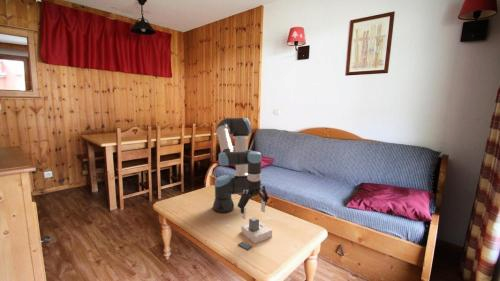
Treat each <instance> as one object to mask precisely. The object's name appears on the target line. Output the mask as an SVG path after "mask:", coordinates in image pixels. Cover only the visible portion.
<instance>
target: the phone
mask: <svg viewBox="0 0 500 281" xmlns="http://www.w3.org/2000/svg"><path fill="white" fill-rule="evenodd" d="M237 246H239V247H240V248H242V249H243V250H246V251H249V250H251V249H252V248H253V246H252V245H250V244H248V243H246V242H244V241H241V242H240V243H238V244H237Z"/></svg>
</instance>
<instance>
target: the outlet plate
mask: <svg viewBox="0 0 500 281" xmlns="http://www.w3.org/2000/svg"><path fill="white" fill-rule="evenodd" d="M240 231H241V233H242V234H243V235H245V236H246V237H247V239H249V240H250V241H252V243H254V244H257V243H260V242H262V241H264V240H267V239H269V238H271V237H273V229H271V228H270V227H268V226H267V225H266V224H265V223H263V222H261V221H260V220H259V230H257V231H255V232H251V231H250V230H249V222H247V223H245V224H241V225H240Z"/></svg>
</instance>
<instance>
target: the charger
mask: <svg viewBox="0 0 500 281" xmlns="http://www.w3.org/2000/svg"><path fill="white" fill-rule="evenodd" d="M259 221H260V219H258V218H257V217H256V216H253V217H251V218H248V223H249V230H250V231H251V232H255V231H257V230H259Z"/></svg>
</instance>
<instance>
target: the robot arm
mask: <svg viewBox="0 0 500 281" xmlns="http://www.w3.org/2000/svg"><path fill="white" fill-rule="evenodd" d="M215 132H216V136H217V137H218V142H219V148H220V152H219V153H218V165H219V166H225V167H228V166H235V173H234V174H233V177H232V176H231V175H228V174H225V175H220V176H217V177H216V178H215V180H214V201H213V205H212V210H213V211H214V212H215V213H219V214H227V213H230V212H232V211H234V209H235V204H234V201H233V198H232V196H233V195H240V198H239V200H238V203H237V207H238V208H240V214H241V218H242V219H243V220H246V219H247V218H246V212H247V211H246V205H247V204H248V202H249V201H250V199H252V197H256V196H259V197H260V198H261V202H260V203H261V205H260V207H261V208H260V211H261V213H262V212H263V213H266V205H267V203H268V200H270V197H269V194H268V193H267V191H266V186H265V185H263V184H262V180H261V179H262V153H261V152H259V151H255V150H254V151H253V150H251V149H248V138H249V136H250V134H251V133H252V126H251V122H250V120H249V118H247V117H227V118H226V117H225V118H223V119H221V120H220V121H219V122H218V124H217V125H216V128H215ZM231 135H232V138H233V139H234V147H233V142H232V139H231Z"/></svg>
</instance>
